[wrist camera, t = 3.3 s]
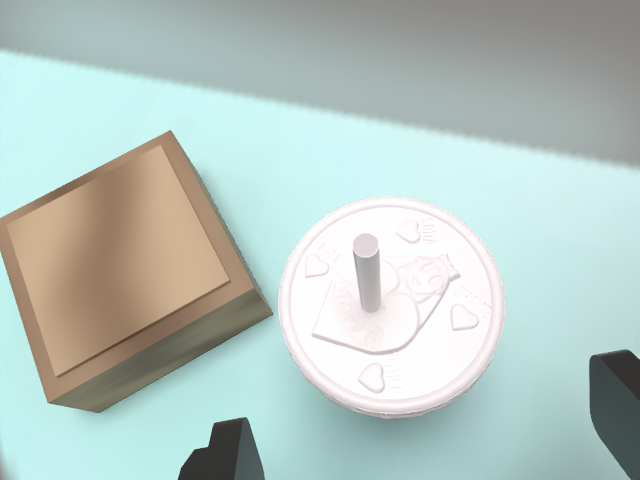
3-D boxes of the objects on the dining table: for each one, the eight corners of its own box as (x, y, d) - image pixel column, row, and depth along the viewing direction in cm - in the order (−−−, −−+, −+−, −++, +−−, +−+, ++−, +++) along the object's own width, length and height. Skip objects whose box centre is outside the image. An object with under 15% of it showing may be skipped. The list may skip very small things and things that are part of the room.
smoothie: (293, 328, 25) (193, 179, 12) (415, 267, 25) (445, 61, 12) (356, 464, 22) (316, 460, 9) (491, 393, 23) (627, 296, 10)
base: (198, 173, 29) (168, 126, 25) (273, 313, 25) (252, 285, 21) (43, 255, 28) (-13, 220, 24) (98, 412, 24) (43, 402, 20)
